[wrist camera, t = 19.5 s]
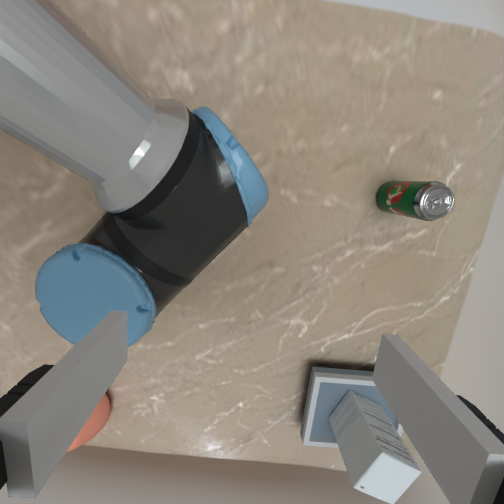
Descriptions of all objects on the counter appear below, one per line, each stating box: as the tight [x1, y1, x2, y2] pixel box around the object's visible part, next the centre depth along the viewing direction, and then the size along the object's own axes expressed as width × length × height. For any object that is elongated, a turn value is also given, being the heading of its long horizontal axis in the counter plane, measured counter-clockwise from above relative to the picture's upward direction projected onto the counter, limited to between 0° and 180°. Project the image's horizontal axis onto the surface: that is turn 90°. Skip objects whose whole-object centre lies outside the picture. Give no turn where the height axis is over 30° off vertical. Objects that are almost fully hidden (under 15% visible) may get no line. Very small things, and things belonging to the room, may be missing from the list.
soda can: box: [377, 181, 454, 221], centre depth 41 cm, size 5×5×12 cm
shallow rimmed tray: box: [300, 364, 403, 448], centre depth 54 cm, size 18×15×6 cm
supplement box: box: [329, 390, 422, 504], centre depth 46 cm, size 7×7×13 cm
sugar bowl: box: [66, 393, 111, 452], centre depth 51 cm, size 12×14×10 cm
